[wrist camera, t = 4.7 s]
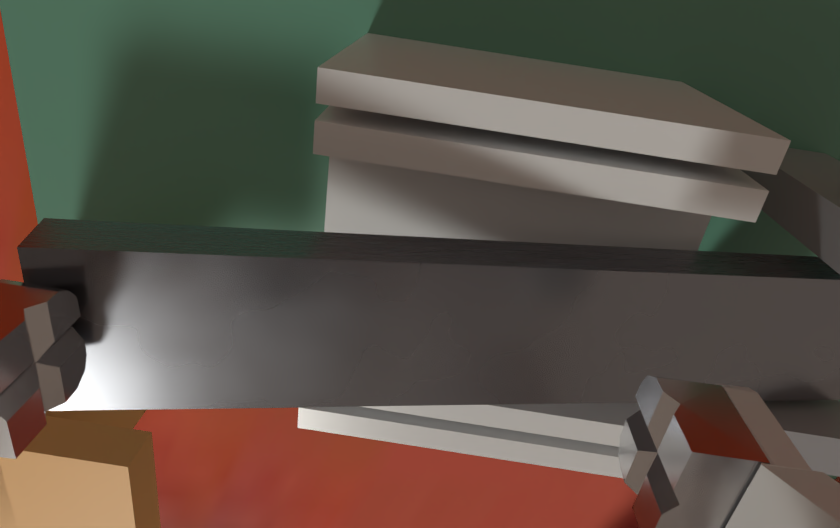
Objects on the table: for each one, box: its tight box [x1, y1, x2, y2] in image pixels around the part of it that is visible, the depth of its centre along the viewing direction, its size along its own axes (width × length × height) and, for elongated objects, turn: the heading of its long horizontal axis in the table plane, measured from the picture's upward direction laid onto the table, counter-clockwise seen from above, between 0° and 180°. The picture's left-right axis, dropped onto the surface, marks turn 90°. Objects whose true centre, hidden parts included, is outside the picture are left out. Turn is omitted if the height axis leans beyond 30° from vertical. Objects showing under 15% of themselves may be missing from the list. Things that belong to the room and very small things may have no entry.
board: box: [0, 0, 840, 479], centre depth 15 cm, size 27×16×7 cm, turn 82°
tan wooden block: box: [0, 409, 161, 528], centre depth 16 cm, size 6×4×7 cm
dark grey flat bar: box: [17, 218, 840, 411], centre depth 11 cm, size 16×3×1 cm, turn 82°
